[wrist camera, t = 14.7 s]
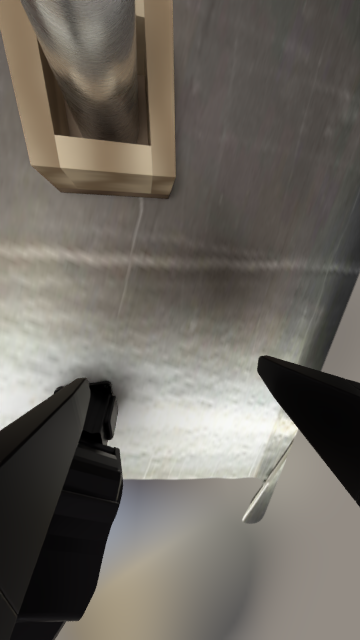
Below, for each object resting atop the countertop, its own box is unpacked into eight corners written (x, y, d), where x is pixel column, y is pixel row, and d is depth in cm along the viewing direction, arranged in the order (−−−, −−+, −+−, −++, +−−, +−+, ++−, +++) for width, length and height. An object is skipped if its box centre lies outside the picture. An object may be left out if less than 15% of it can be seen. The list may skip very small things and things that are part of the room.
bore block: (60, 192, 16) (30, 165, 12) (31, 35, 13) (-24, -77, 9) (168, 198, 18) (175, 177, 13) (164, 63, 15) (172, -19, 11)
